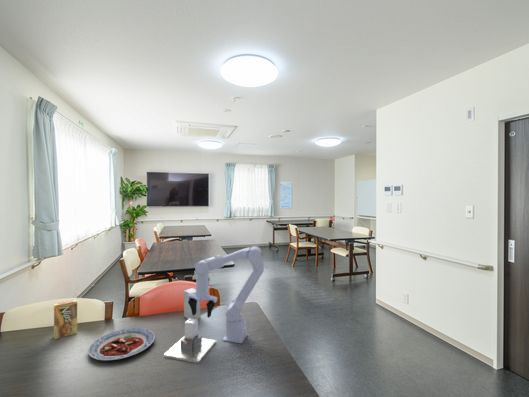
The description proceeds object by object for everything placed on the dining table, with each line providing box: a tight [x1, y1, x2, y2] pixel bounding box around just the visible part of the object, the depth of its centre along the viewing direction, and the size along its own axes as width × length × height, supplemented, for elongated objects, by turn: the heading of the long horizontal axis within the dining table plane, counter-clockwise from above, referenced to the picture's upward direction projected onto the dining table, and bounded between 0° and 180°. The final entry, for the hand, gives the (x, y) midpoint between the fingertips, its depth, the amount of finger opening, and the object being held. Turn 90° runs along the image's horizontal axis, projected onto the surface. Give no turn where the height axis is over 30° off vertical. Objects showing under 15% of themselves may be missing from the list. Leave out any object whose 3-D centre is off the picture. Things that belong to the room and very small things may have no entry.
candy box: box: [53, 299, 78, 340], centre depth 128 cm, size 9×4×15 cm, turn 129°
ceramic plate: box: [87, 327, 156, 361], centre depth 118 cm, size 26×26×3 cm
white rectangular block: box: [184, 318, 199, 341], centre depth 116 cm, size 4×4×8 cm
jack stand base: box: [163, 333, 217, 364], centre depth 116 cm, size 16×16×5 cm
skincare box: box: [183, 287, 201, 320], centre depth 147 cm, size 8×6×15 cm
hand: (201, 315), depth 126 cm, fingers open, 7 cm apart
